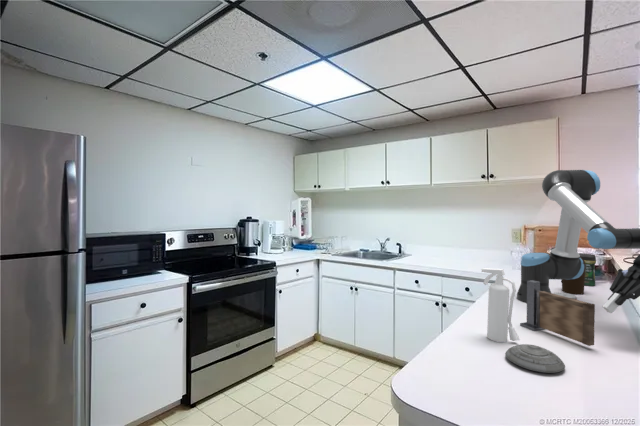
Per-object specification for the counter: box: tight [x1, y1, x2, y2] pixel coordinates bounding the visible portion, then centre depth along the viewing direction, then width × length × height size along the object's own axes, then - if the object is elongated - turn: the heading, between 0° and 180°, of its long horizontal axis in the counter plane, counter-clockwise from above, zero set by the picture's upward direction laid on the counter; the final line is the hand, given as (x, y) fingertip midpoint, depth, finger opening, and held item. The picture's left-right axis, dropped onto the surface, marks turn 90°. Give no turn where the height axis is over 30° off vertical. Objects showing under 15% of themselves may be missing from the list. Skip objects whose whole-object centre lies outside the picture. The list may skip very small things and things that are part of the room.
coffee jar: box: [578, 252, 597, 287], centre depth 194 cm, size 10×8×19 cm
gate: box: [537, 290, 596, 347], centre depth 115 cm, size 19×2×13 cm, turn 18°
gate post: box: [519, 280, 546, 332], centre depth 126 cm, size 6×6×18 cm
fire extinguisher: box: [481, 267, 521, 343], centre depth 115 cm, size 7×12×25 cm, turn 42°
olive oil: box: [560, 257, 586, 296], centre depth 176 cm, size 11×11×25 cm
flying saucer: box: [504, 343, 566, 374], centre depth 98 cm, size 15×15×6 cm
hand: (607, 309), depth 110 cm, fingers closed
